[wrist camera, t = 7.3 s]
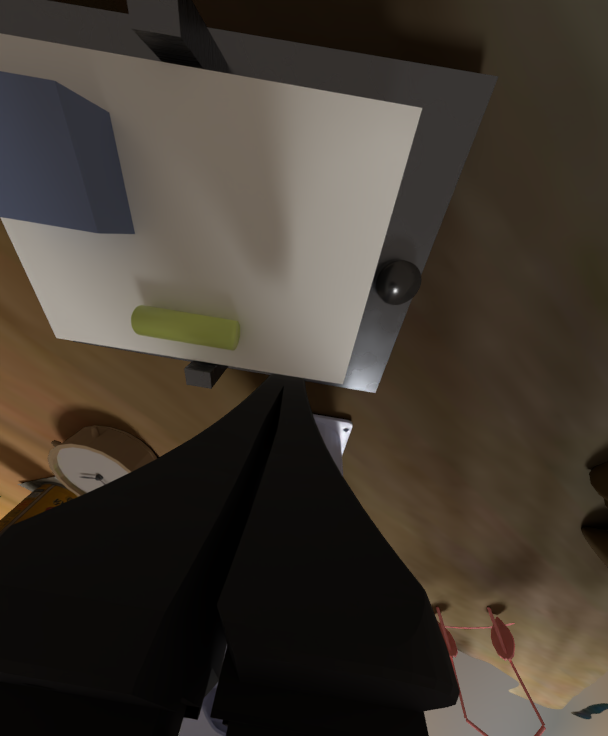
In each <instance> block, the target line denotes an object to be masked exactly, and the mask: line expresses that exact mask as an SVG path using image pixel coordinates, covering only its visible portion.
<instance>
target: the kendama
mask: <svg viewBox="0 0 608 736" xmlns="http://www.w3.org/2000/svg"><path fill="white" fill-rule="evenodd" d="M589 475H590V481H591V485H592V486H593V487H594V488H595V490H596V491H597V492H598V494H599V495H600V496H602V497H603V498H604V502H605V506H606V507H607V508H608V462H607V463H604V464H601V465H598V466H596V467H594V468H593V469H592V470H591V472H590V473H589ZM582 533H583V535H584V537H585V539H586V540H587V542H588V543H589V545H590V546H591V547H592V549H593V550H594V552H595V553H596V554H597V555H598V557H599V558H600V559H601V560H602V562H603V563H604V564H605V565H606V566H607V568H608V531H607V530H602V529H597V528H591V527H583V528H582Z"/></svg>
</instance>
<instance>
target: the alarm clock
mask: <svg viewBox="0 0 608 736" xmlns="http://www.w3.org/2000/svg"><path fill="white" fill-rule="evenodd" d="M51 443H52V444H53V445H54V446H55V448H53V449H52V450H50V452H49V455H48V462H49V466H50V469H51V470H52V472H53V474H54V475H55V477H56V478H57V479H58V480H59V481H60V482H61V483H62V484H63V485H64V486H65V487H66V488H67V489H69V490H70V491H72V492H73V493H74V494H76V495H77V496H81V495H83V494H86V493H88V492H90V491H92V490H94V489H97V488H99V487H101V486H103V485H105V484H107V483H109V482H112V481H114V480H116V479H118V478H120V477H122V476H124V475H126V474H128V473H130V472H132V471H134V470H136V469H138V468H140V467H142V466H144V465H146V464H148V463H150V462H152V461H154V460H155V459H157V457H156V456H155V454H154V453H153V451H152V450H151V449H150V448H149V447H148V446H146V445H145V444H144V443H143V442H142V441H141V440H139V439H138V438H136V437H134V436H133V435H131V434H129V433H127V432H125V431H122V430H118V429H115V428H112V427H106V426H97V425H96V426H89V427H84V428H83V429H81V430H80V431H78V432H77V433H76V434H75V435H73V436H72V437H70V438H69V439H67V440H66V441H64V442H63V443H61V442H59V441H56V440H54V441H52V442H51Z"/></svg>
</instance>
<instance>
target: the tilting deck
mask: <svg viewBox="0 0 608 736" xmlns="http://www.w3.org/2000/svg"><path fill="white" fill-rule="evenodd" d="M421 111H422V108H420V107H414V106H409V105H403V104H397V103H392V102H386V101H380V100H375V99H369V98H363V97H358V96H352V95H346V94H341V93H335V92H329V91H324V90H318V89H312V88H307V87H301V86H296V85H290V84H284V83H279V82H273V81H267V80H262V79H256V78H250V77H245V76H239V75H233V74H228V73H222V72H216V71H211V70H205V69H199V68H194V67H188V66H182V65H177V64H171V63H165V62H160V61H154V60H148V59H143V58H137V57H131V56H126V55H120V54H114V53H109V52H103V51H97V50H92V49H86V48H81V47H75V46H69V45H64V44H58V43H52V42H47V41H41V40H35V39H30V38H24V37H18V36H13V35H7V34H1V33H0V218H1V220H2V222H3V224H4V226H5V228H6V231H7V233H8V235H9V237H10V239H11V241H12V243H13V246H14V248H15V250H16V252H17V254H18V256H19V259H20V261H21V263H22V265H23V267H24V269H25V271H26V274H27V276H28V278H29V280H30V282H31V284H32V286H33V289H34V291H35V293H36V295H37V297H38V299H39V301H40V304H41V306H42V308H43V310H44V312H45V314H46V317H47V319H48V321H49V323H50V325H51V327H52V329H53V332H54V334H55V336H56V338H60V339H66V340H73V341H79V342H85V343H91V344H97V345H103V346H110V347H116V348H122V349H128V350H134V351H140V352H146V353H153V354H159V355H165V356H171V357H177V358H183V359H190V360H196V361H202V362H208V363H214V364H220V365H227V366H233V367H239V368H245V369H251V370H257V371H264V372H270V373H276V374H282V375H288V376H294V377H300V378H307V379H313V380H319V381H325V382H331V383H337V384H343V382H344V378H345V375H346V372H347V368H348V365H349V361H350V358H351V354H352V351H353V347H354V344H355V340H356V337H357V333H358V330H359V326H360V323H361V319H362V316H363V312H364V309H365V306H366V302H367V299H368V295H369V292H370V288H371V285H372V281H373V278H374V274H375V271H376V267H377V264H378V260H379V257H380V253H381V250H382V246H383V243H384V240H385V236H386V233H387V229H388V226H389V222H390V219H391V215H392V212H393V208H394V205H395V201H396V198H397V194H398V191H399V187H400V184H401V180H402V177H403V173H404V170H405V167H406V163H407V160H408V156H409V153H410V149H411V146H412V142H413V139H414V135H415V132H416V128H417V125H418V121H419V118H420V114H421Z"/></svg>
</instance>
